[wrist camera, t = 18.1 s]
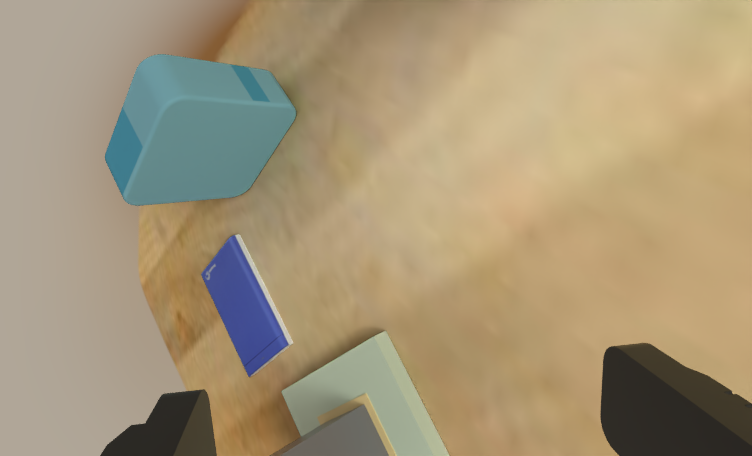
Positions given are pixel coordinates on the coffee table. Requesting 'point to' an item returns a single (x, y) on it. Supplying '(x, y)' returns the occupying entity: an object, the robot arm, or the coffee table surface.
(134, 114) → the data package
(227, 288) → the hard drive
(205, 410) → the robot arm
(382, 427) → the pin board
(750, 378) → the coffee table surface
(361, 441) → the block
